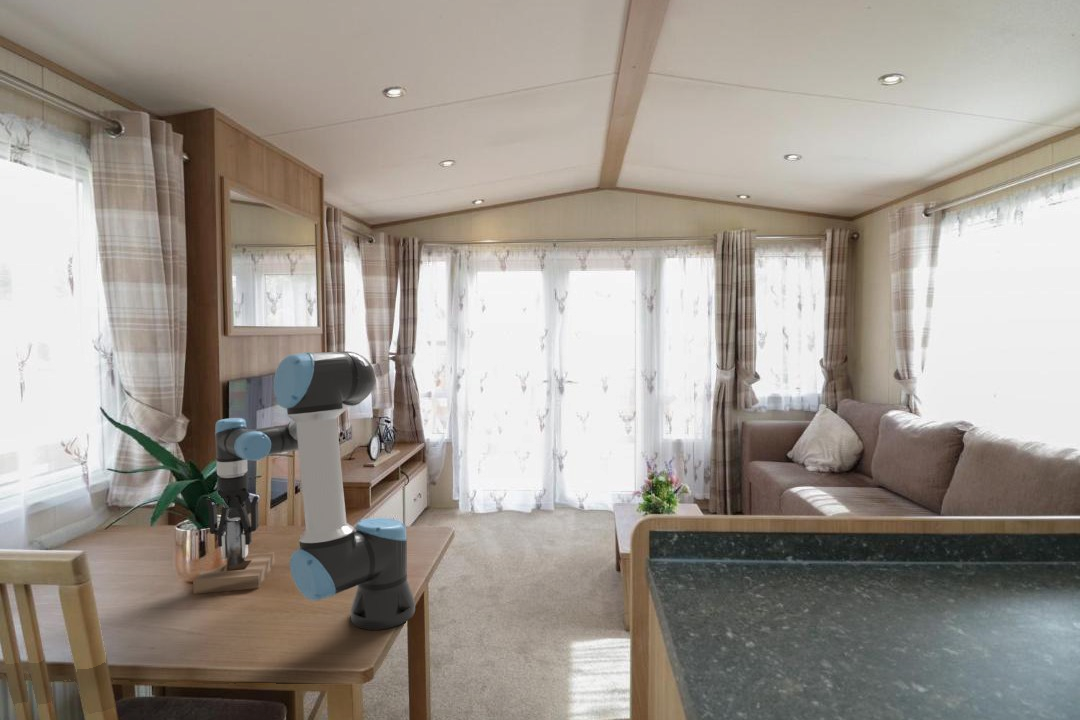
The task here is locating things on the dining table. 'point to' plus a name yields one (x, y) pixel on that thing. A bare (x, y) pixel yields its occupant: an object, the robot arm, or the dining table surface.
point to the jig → (235, 575)
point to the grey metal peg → (234, 541)
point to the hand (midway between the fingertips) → (235, 556)
